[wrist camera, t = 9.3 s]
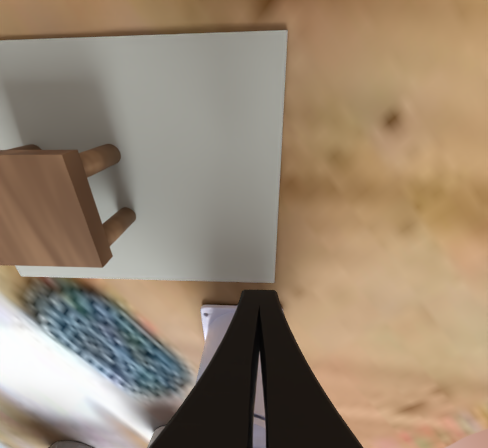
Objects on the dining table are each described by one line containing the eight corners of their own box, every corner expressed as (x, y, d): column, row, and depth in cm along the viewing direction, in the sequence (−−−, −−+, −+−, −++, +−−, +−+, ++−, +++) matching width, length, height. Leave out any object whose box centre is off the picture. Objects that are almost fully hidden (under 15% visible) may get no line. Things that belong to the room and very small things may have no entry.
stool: (61, 154, 12) (-70, 155, 12) (102, 267, 15) (-2, 265, 16) (116, 137, 17) (19, 138, 17) (139, 227, 20) (57, 226, 20)
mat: (274, 280, 22) (274, 282, 22) (23, 274, 24) (21, 276, 23) (287, 31, 14) (287, 30, 13) (-106, 45, 15) (-113, 44, 15)
